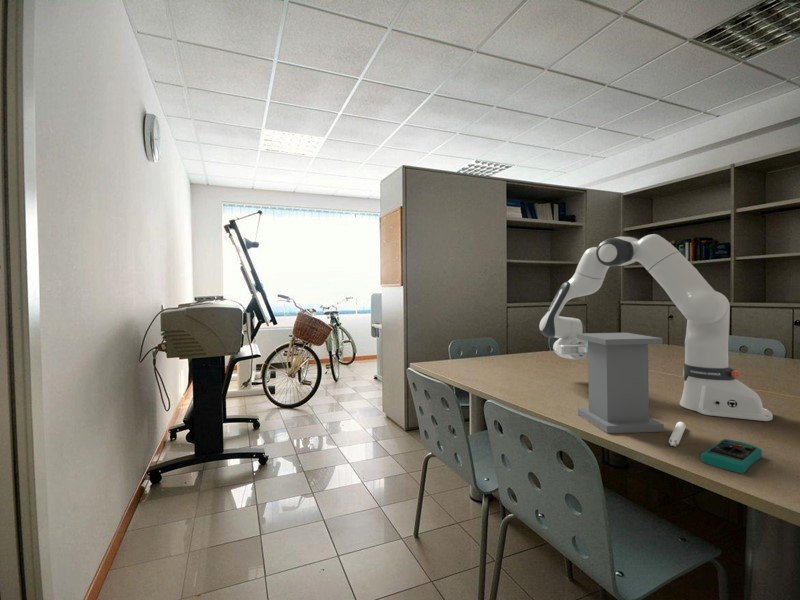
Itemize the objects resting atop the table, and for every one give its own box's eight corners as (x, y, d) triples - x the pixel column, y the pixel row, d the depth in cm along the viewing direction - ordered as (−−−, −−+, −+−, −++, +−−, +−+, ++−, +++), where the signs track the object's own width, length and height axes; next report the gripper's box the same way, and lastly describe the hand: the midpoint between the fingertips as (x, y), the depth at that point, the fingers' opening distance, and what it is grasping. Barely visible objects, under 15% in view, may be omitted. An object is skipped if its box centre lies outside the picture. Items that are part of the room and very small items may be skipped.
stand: (577, 414, 118) (576, 333, 118) (627, 413, 118) (625, 332, 118) (606, 433, 102) (605, 339, 102) (663, 431, 102) (662, 338, 102)
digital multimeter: (763, 458, 86) (763, 446, 86) (742, 476, 78) (742, 463, 78) (723, 448, 92) (722, 436, 92) (700, 464, 84) (700, 451, 84)
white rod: (677, 450, 91) (677, 440, 91) (667, 447, 93) (667, 438, 93) (685, 429, 104) (685, 421, 104) (676, 428, 106) (676, 419, 106)
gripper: (551, 341, 154) (566, 342, 140) (600, 340, 154) (619, 340, 140) (552, 357, 153) (567, 359, 140) (601, 355, 153) (621, 357, 140)
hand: (594, 349), depth 140 cm, fingers closed on bar, 3 cm apart
